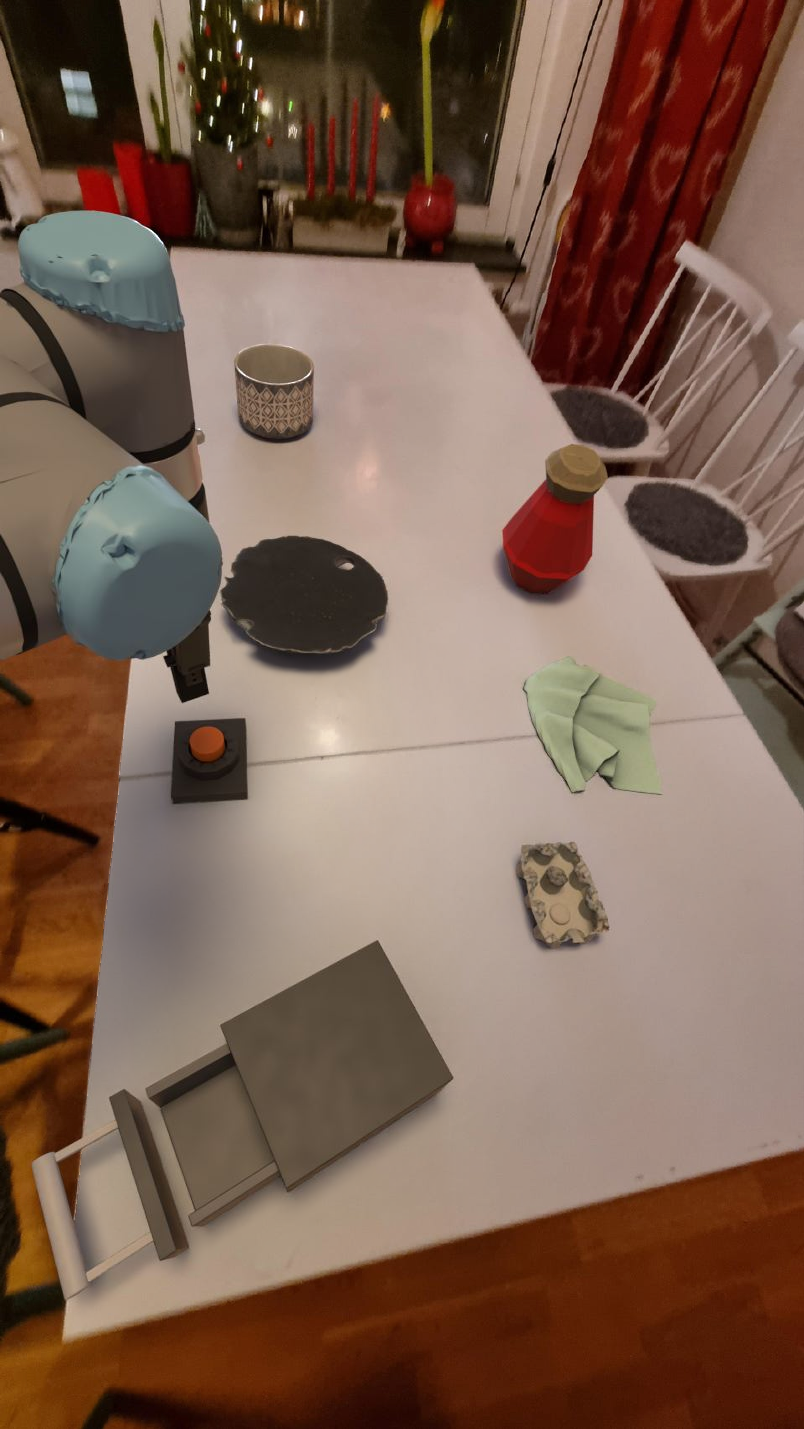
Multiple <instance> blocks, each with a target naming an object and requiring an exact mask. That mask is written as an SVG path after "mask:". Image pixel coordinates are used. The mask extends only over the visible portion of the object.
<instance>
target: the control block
mask: <svg viewBox="0 0 804 1429" xmlns="http://www.w3.org/2000/svg"><path fill="white" fill-rule="evenodd" d="M202 727H214V728H217V729H218V730H220V731H221V733H222V734H223V737H224V743H225V751H224V753H223V755H222V756H221V757H220V758H219V759H217V760H215V761H212V762H202V761H199V760H198V759H196V758H195V757H194V756H193V754H192V750H191V746H190V737H191V735H192V734H193V733H194V732H195V731H196V730H197V729H199V728H202ZM173 728H174V729H173V746H172V764H171V765H172V767H171V787H170V798H171V802H172V805H179V804H181V805H182V804H193V803H195V804H196V803H209V802H211V803H212V802H224V801H238V800H248V798H249V796H248V750H247V749H248V745H247V744H248V743H247V721H246V717H237V718H216V719H215V718H214V719H194V720H193V719H192V720H175V721H174V726H173Z"/></svg>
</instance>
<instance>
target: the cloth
mask: <svg viewBox="0 0 804 1429" xmlns="http://www.w3.org/2000/svg"><path fill="white" fill-rule="evenodd" d="M522 689H523V690H524V691H525V692H526V699H527V707H528V712H529V715H530V717H531V722H532V725H533V727H534V728H535V730H536V733H537V735H538V738H539V740H540V741H541V743H542V744H543V746H544V749H545V751H546V754H547V755H548V757H549V758H550V759H551V760H552V761H553V763H554V765H555V767H556V769H557V771H558V772H559V775H561V777H562V778H563V779H564V780H565V781H566V783H567V784H568V787H569V789H570V791H571V793H575V792H579V791H583V792H584V791H586V786H587V784H586V783H587V782H588V781H590V779H591V778H592V777H594V776H595V773H596V772H597V773H598V774H599V776H602V777H604V778H605V780H606V782H607V783H608V784H609V785H610V786H611V787H612V788H614V789H616V790H621V791H626V792H634V793H643V794H653V795H654V794H655V795H660V796H662V795H663V791H662V784H661V781H660V776H659V771H658V768H657V763H656V759H655V754H654V750H653V744H652V741H651V734H650V731H651V730H650V718H651V716H652V714H653V712H654V710H655V708H656V706H657V703H658V700H656V699H654V698H652V697H650V696H648V695H646V694H644V693H642V692H641V691H638V690H635V689H633V688H631V687H630V686H627V685H625V684H623V683H621V682H619V681H617V680H614V679H612V678H609V677H607V676H605V675H603V674H600V673H599V672H598V671H597V670H595V669H594V668H592V667H591V666H589V665H587V664H585V665H578V664H577V662H576V659H575V658H574V657H572V656H569V655H568V656H566V657H564V658H562V659H560V660H556V661H554V662H552V663H550V664H548V665H546V666H545V667H544V666H543V667H542V668H540V669H539V670H538V671H537V672H536V673H533V674H531V676H529V677H528V678H527V679H525V681H524V684H523V688H522Z"/></svg>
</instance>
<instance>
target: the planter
mask: <svg viewBox="0 0 804 1429" xmlns="http://www.w3.org/2000/svg"><path fill="white" fill-rule="evenodd" d="M233 364H234V379H235V389H236V390H235V392H236V403H237V404H236V405H237V417H238V419H239V422H240V424H241V425H242V427H243V428H244V429H246V430H247V431H248V432H250V433H252V434H254V435H257V436H260V437H263V438H267V439H274V440H275V439H276V440H277V439H279V440H280V439H281V440H283V439H289V438H295V437H297V436H300V435H302V434H304V433H306V432H307V431H308V430H309V429H310V428H311V426H312V424H313V421H314V376H315V375H314V374H315V365H314V362H313V359H311V357H309V356H308V354H306V353H304V352H303V351H301V350H299V349H298V348H294V347H291V346H288V345H285V344H277V343H262V344H261V343H260V344H255V345H252V346H249V347H245V348H243V349H242V350H241V351H239V352H237V354H236V356H235V357H234V361H233Z"/></svg>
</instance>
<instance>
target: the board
mask: <svg viewBox="0 0 804 1429" xmlns="http://www.w3.org/2000/svg"><path fill="white" fill-rule="evenodd" d="M345 564H350V565H352V566H353V567H351V568H349V569H344V568H340V567H341V566H343V565H345ZM230 572H231V573H232V575H233V576H232V577H227V576H225V575H223V578H224V580H225V586H223V587H222V588H221V589H219V594H220V599H221V603H220V605H221V606H222V608H224V609H225V611H226V612H227V614H228V616H229V617H230V619H231V620H232V621H233V623H235V624H236V625H237V626H238V627H239V628H240V629H242V630H244V631H245V632H246V635H248V637H249V638H251V639H252V640H253V641H255V642H257V643H259V644H260V645H263V646H265V647H267V648H270V649H272V650H277V651H281V652H284V653H288V654H289V653H290V654H298V653H299V654H309V653H310V654H312V653H313V654H338V653H340V652H343V651H345V650H349V649H350V648H353V647H354V646H356V645H357V644H358V643H359V642H360V641H361V639H364V638H365V637H366V636H368V635H369V634H372V633H374V632H375V631H376V629H377V626H378V624H377V622H379V621H381V620H382V619H383V618H385V616H387V614H388V613H387V612H388V611H387V610H388V609H387V608H388V606H389V590H388V589H387V585H386V583H385V579H384V578H383V575H381V574H380V573H379V572H378V571H377V570H376V568H374V567H373V565H372V564H371V563H370V562H369V561H368V560H366V559H365V558H364V557H362V556H361V555H359V554H357V553H356V552H354V551H352V550H349V549H347V548H346V547H344V546H342V545H340V544H338V543H334V542H332V541H331V540H326V539H323V538H318V537H311V536H308V535H305V536H303V535H301V536H299V535H282V536H279V537H276V538H265V539H260V541H258V542H257V544H256V545H255V546H247V547H242V549H241V550H240V551H239V553H237V554H236V557H235V559H233V561H232V563H231V567H230Z"/></svg>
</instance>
